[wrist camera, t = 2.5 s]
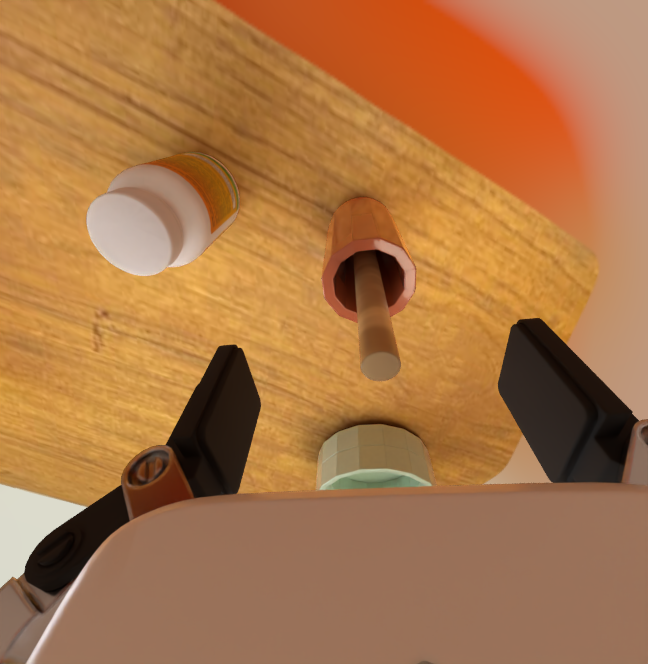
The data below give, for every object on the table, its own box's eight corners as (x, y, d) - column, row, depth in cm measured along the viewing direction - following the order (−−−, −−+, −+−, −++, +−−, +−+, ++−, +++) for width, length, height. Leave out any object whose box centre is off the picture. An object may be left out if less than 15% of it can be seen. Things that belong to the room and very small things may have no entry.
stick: (370, 222, 23) (401, 350, 11) (371, 241, 24) (401, 380, 11) (350, 224, 23) (359, 353, 11) (352, 243, 24) (362, 383, 12)
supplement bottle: (177, 133, 21) (74, 146, 13) (253, 179, 22) (201, 217, 14) (158, 207, 24) (63, 255, 16) (226, 244, 25) (170, 306, 17)
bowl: (429, 417, 35) (443, 467, 30) (424, 482, 42) (435, 531, 38) (311, 422, 37) (307, 471, 32) (326, 485, 44) (324, 532, 39)
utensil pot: (393, 192, 22) (417, 233, 15) (393, 257, 25) (414, 319, 18) (325, 201, 23) (316, 244, 15) (332, 264, 25) (328, 326, 18)
